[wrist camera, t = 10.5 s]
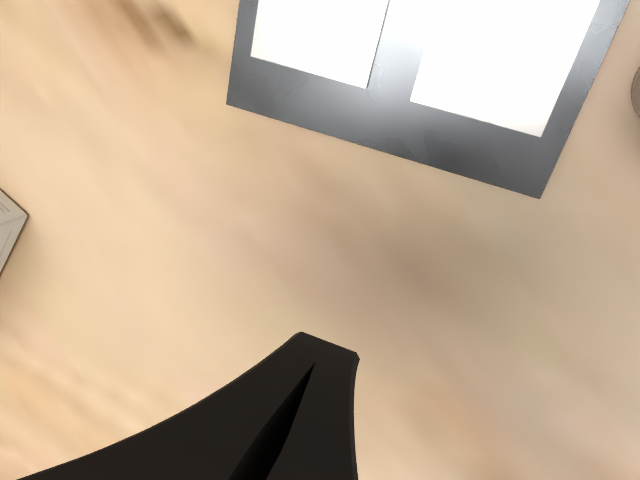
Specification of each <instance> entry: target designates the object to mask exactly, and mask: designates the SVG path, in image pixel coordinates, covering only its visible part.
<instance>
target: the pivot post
mask: <svg viewBox="0 0 640 480" xmlns="http://www.w3.org/2000/svg"><path fill="white" fill-rule="evenodd" d="M631 98H632V104H633V107H634V109H635V111H636V113H637V114H638V116H639V117H640V67H639V69H638V71H637V72H636V75H635V77H634V80H633V83H632V89H631Z"/></svg>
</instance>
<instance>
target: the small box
mask: <svg viewBox="0 0 640 480" xmlns="http://www.w3.org/2000/svg"><path fill="white" fill-rule="evenodd" d="M26 218H27V215H26V213H25V212H24V211H23V210H22V209H20V208H19V207H18V206H17V205H16V204H15V203H14V202H13V201H12V200H11V199H10V198H8V197H7V196H6V195H5V194H4V193H3V192H2V191H1V190H0V272H1V270H2V268H3V266H4V264H5V262H6V260H7V258H8V256H9V253H10V251H11V249H12V247H13V245H14V243H15V241H16V239H17V237H18V235H19V233H20V231H21V229H22V227H23V224H24V222H25V220H26Z"/></svg>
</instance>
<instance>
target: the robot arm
mask: <svg viewBox="0 0 640 480" xmlns="http://www.w3.org/2000/svg"><path fill="white" fill-rule="evenodd" d="M359 360H360V358H359V357H358V355H357V353H356V352H354V351H351V350H348V349H346V348H343V347H340V346H338V345H335V344H333V343H330V342H327V341H325V340H322V339H320V338H317V337H314V336H312V335H309V334H306V333H304V332H299V333H296V334H295V335H293V336H292V337H291V338H290V339H289V340H288V341H286V342H285V343H284V344H283V345H282V346H280V347H279V348H278V349H277V350H275V351H274V352H273V353H271V354H270V355H269V356H267V357H266V358H265V359H263V360H262V361H261V362H259V363H258V364H257V365H255V366H254V367H252V368H251V369H249V370H248V371H246V372H245V373H243V374H242V375H241V376H239V377H238V378H236V379H235V380H233V381H232V382H230V383H229V384H227V385H226V386H224V387H222V388H221V389H219V390H217V391H216V392H214V393H212V394H211V395H209V396H207V397H206V398H204V399H202V400H201V401H199V402H197V403H196V404H194V405H192V406H190V407H189V408H187V409H185V410H183V411H181V412H180V413H178V414H176V415H174V416H172V417H170V418H168V419H166V420H164V421H162V422H160V423H158V424H156V425H154V426H152V427H150V428H148V429H146V430H144V431H142V432H139V433H137V434H135V435H133V436H130V437H128V438H126V439H123V440H121V441H119V442H117V443H114V444H112V445H110V446H108V447H105V448H103V449H100V450H98V451H95V452H93V453H90V454H88V455H85V456H83V457H80V458H77V459H75V460H72V461H69V462H66V463H63V464H60V465H57V466H55V467H52V468H49V469H46V470H43V471H40V472H37V473H35V474H32V475H29V476H26V477H23V478H20V479H17V480H358V473H357V463H356V453H355V438H354V387H355V378H356V371H357V367H358V363H359Z"/></svg>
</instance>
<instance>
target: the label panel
mask: <svg viewBox="0 0 640 480" xmlns="http://www.w3.org/2000/svg"><path fill="white" fill-rule="evenodd" d="M629 1H630V0H240V2H239V10H238V17H237V25H236V33H235V40H234V48H233V56H232V63H231V71H230V79H229V86H228V94H227V101H226V104H227V105H230V106H233V107H237V108H240V109H243V110H246V111H250V112H253V113H256V114H260V115H263V116H266V117H270V118H273V119H276V120H280V121H283V122H286V123H290V124H293V125H296V126H299V127H303V128H306V129H309V130H313V131H316V132H319V133H323V134H326V135H329V136H333V137H336V138H339V139H343V140H346V141H349V142H352V143H356V144H359V145H362V146H366V147H369V148H372V149H376V150H379V151H382V152H386V153H389V154H392V155H395V156H399V157H402V158H405V159H409V160H412V161H415V162H419V163H422V164H425V165H429V166H432V167H435V168H439V169H442V170H445V171H448V172H452V173H455V174H458V175H462V176H465V177H468V178H472V179H475V180H478V181H482V182H485V183H488V184H492V185H495V186H498V187H501V188H505V189H508V190H511V191H515V192H518V193H521V194H525V195H528V196H531V197H535V198H538V199H540V197H541V195H542V193H543V191H544V188H545V186H546V184H547V182H548V180H549V177H550V175H551V173H552V171H553V168H554V166H555V164H556V162H557V160H558V157H559V155H560V153H561V151H562V149H563V146H564V144H565V142H566V140H567V138H568V135H569V133H570V131H571V129H572V127H573V124H574V122H575V120H576V118H577V116H578V113H579V111H580V109H581V107H582V105H583V102H584V100H585V98H586V96H587V94H588V91H589V89H590V87H591V85H592V83H593V80H594V78H595V76H596V74H597V72H598V69H599V67H600V65H601V63H602V61H603V58H604V56H605V54H606V52H607V50H608V47H609V45H610V43H611V41H612V39H613V36H614V34H615V32H616V30H617V28H618V25H619V23H620V21H621V19H622V17H623V14H624V12H625V10H626V8H627V6H628V3H629Z"/></svg>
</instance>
